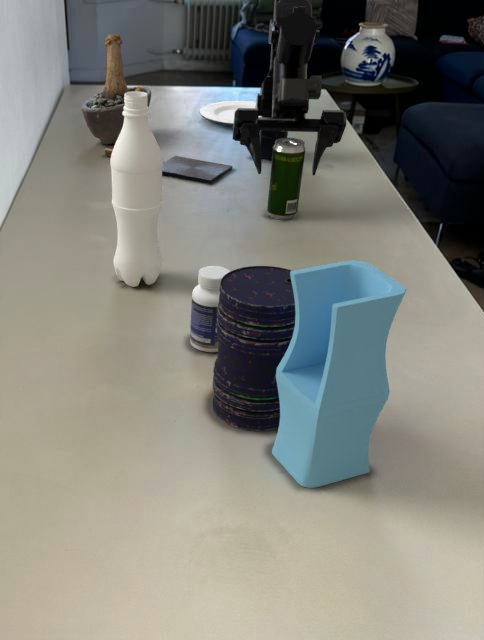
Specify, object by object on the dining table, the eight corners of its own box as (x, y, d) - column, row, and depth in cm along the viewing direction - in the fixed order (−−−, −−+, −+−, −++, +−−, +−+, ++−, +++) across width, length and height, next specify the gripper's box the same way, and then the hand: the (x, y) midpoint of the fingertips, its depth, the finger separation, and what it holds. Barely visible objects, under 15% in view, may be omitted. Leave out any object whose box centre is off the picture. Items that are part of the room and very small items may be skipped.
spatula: (232, 170, 153) (233, 159, 152) (210, 184, 146) (211, 173, 145) (119, 149, 162) (119, 139, 161) (94, 162, 156) (94, 152, 155)
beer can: (303, 215, 134) (312, 142, 126) (282, 222, 132) (290, 148, 124) (281, 207, 137) (289, 135, 130) (260, 213, 135) (267, 141, 127)
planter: (151, 129, 174) (150, 27, 161) (153, 151, 162) (153, 42, 149) (86, 129, 174) (80, 27, 161) (83, 151, 161) (77, 42, 148)
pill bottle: (218, 357, 97) (223, 285, 90) (182, 346, 99) (184, 274, 92) (238, 340, 100) (244, 269, 94) (202, 329, 102) (206, 259, 96)
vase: (266, 447, 82) (289, 270, 69) (328, 431, 85) (361, 257, 71) (304, 490, 77) (337, 307, 64) (369, 472, 79) (414, 291, 66)
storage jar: (235, 439, 83) (246, 314, 74) (196, 394, 90) (202, 274, 80) (312, 419, 86) (333, 296, 77) (269, 377, 93) (284, 259, 83)
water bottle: (168, 273, 116) (171, 90, 99) (152, 293, 110) (152, 103, 94) (124, 266, 117) (119, 85, 101) (106, 285, 112) (99, 98, 96)
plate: (291, 133, 173) (292, 123, 172) (200, 131, 173) (200, 122, 172) (281, 109, 189) (282, 100, 187) (198, 108, 189) (198, 99, 188)
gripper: (238, 53, 123) (235, 146, 121) (355, 55, 122) (352, 149, 121) (234, 95, 134) (230, 181, 133) (340, 98, 133) (338, 184, 132)
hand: (286, 173), depth 129 cm, fingers open, 9 cm apart
